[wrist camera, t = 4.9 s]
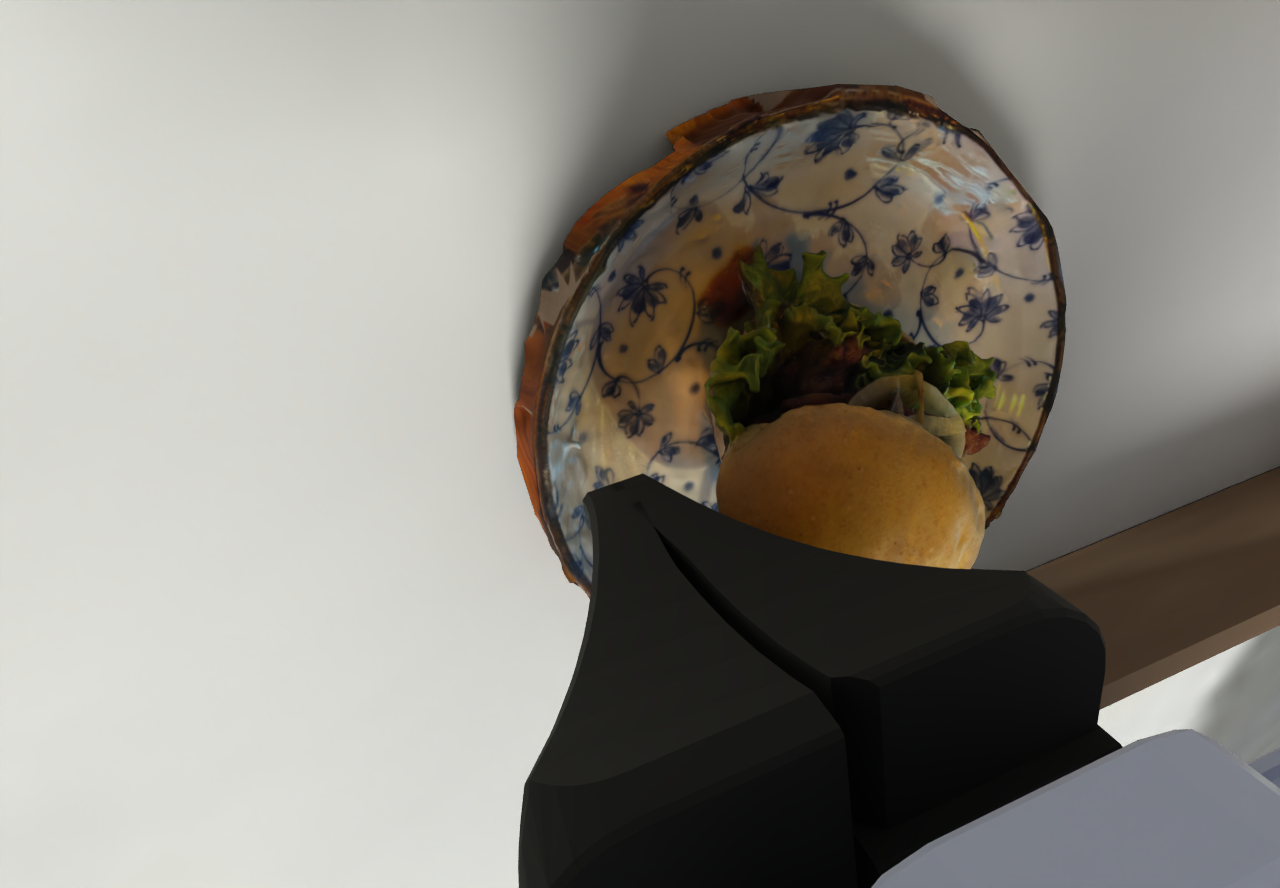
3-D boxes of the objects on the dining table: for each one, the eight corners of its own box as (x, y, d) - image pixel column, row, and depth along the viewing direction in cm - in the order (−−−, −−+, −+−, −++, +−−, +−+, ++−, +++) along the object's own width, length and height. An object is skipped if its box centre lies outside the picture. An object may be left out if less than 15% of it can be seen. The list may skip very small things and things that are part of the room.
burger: (973, 553, 20) (1261, 765, 13) (555, 678, 17) (665, 1027, 10) (1045, 61, 15) (1581, 21, 8) (455, 120, 12) (551, 129, 5)
